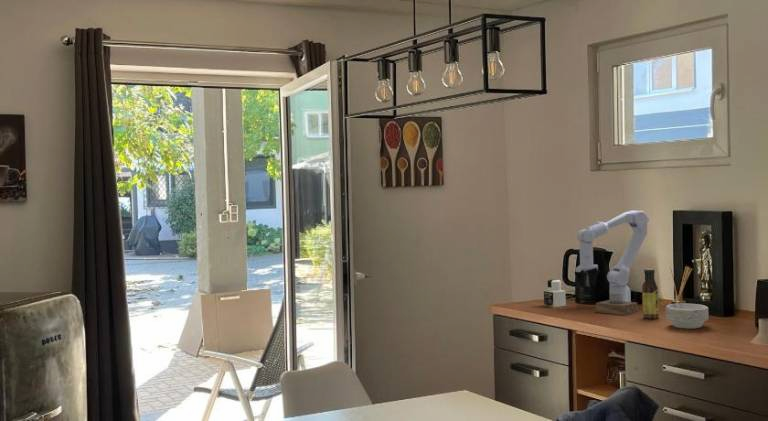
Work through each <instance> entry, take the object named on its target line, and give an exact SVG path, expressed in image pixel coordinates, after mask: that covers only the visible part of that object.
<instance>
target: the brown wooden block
mask: <svg viewBox="0 0 768 421" xmlns="http://www.w3.org/2000/svg"><path fill="white" fill-rule="evenodd" d="M595 313H602V314H611V315H619V316H620V315H621V316H627V315H631V314H634V313H638V302H635V301H634V302H632V301H631V302H625V301H622V304H617V303H610V299H608V300H607V299H606V300H604V301H599V302H595Z"/></svg>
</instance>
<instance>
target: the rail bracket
mask: <svg viewBox="0 0 768 421" xmlns="http://www.w3.org/2000/svg"><path fill="white" fill-rule="evenodd" d="M608 293H609V296H608V297H609V299H608V300H610V303H617V304H622V294H619V293H610V292H608Z"/></svg>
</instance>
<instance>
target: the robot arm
mask: <svg viewBox="0 0 768 421" xmlns="http://www.w3.org/2000/svg"><path fill="white" fill-rule="evenodd" d="M649 220H650V219H649V217H648V214H647V213H646V212H645V211H644V210H633V209H632V210H627V211H624V212H623V213H621V214H619V215H617V216H616V217H614V218H612V219H609V220H608V221H606V222H605V221H596V222H595V223H594V224H592V225H591V226H590V225H589V226H586V228H584V229H581V230H579V231H578V234H577V236H576V238H577V240H578V241H579V265H578V266H576V267H575V271H574V275H575V276H576V279H577V281H578V285H579V287H580V288H584V289H585V288H586V279H587V277H588V283H589V286H591V287H593V286H594V287H595V285H596V281H597V278H598V277H597V276H598V274H599V273H600V269H599V265H598V264H594V246H593V245H594V244H593V243H594V241H595V239H598V238H599V237H602V236H604V235H606V234H607V233H608V232H609V230H610V229H612V228H614V227H615V228H616V227H617V226H619V225H622V224H624V223H625V224H626V223H627V224H628V225H629V226H630V227H631V229H632V232H633V233H632V235H631V237H630V240H629V242H628V243H627V245H626V247H625V248H624V251H623V253H622V255H621V257H620V259H619V261H617V263H616V264H615V265H614V266H613V267H612V268H611V270H609V271H608V272H607V275H606V278H607V281H608V282H609V293H619V294H622V301H625V302H632V300H631V296H632V295H631V289H630V287H629V286H628V285H627V284H628V282H629V278H630V277H629V276H630V275H631V270H630V269H631V265H632V264H633V262H634V260H635V258H636V256H637V254H638V253H639V250H640V248H641V247H642V244H644V243H643V242H644V241H645V239H646V237H647V234H648V222H649Z"/></svg>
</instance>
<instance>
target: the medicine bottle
mask: <svg viewBox="0 0 768 421" xmlns="http://www.w3.org/2000/svg"><path fill="white" fill-rule="evenodd" d="M566 300H567V298H566V289H565V290H564V289H562V281H561V280H560V279H555V278H554V279H548V280H547V289H544V290H543V305H544V306H545V307H549V308H559V307H566V305H567V304H566Z"/></svg>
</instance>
